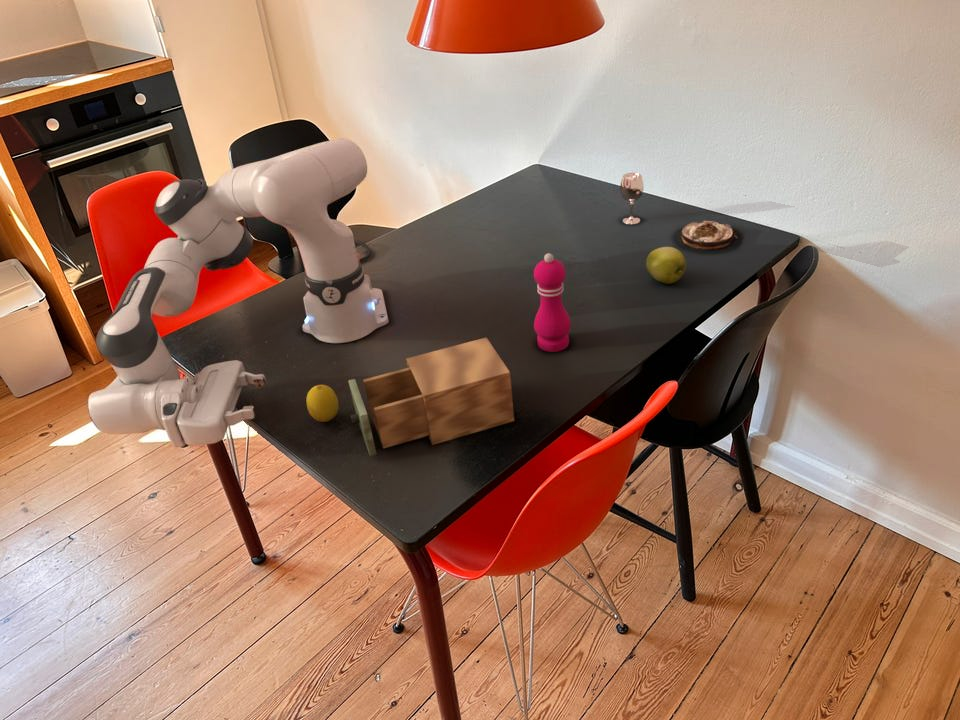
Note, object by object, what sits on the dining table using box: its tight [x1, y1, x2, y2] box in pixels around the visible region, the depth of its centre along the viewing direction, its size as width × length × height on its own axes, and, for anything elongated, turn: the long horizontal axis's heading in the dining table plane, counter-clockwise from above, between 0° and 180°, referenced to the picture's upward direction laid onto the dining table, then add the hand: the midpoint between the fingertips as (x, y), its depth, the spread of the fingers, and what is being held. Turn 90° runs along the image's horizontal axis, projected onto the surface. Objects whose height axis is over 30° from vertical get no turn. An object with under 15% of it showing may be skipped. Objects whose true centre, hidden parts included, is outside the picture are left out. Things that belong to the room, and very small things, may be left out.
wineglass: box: [619, 172, 645, 225], centre depth 194 cm, size 6×6×12 cm
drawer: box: [347, 367, 430, 457], centre depth 132 cm, size 15×11×9 cm
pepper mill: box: [533, 252, 572, 353], centre depth 148 cm, size 7×7×20 cm
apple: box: [645, 246, 687, 285], centre depth 167 cm, size 8×9×8 cm
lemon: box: [305, 384, 339, 423], centre depth 138 cm, size 6×6×8 cm
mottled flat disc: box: [680, 219, 738, 251], centre depth 184 cm, size 15×15×4 cm
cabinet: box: [405, 337, 515, 446], centre depth 135 cm, size 15×12×11 cm
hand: (259, 395), depth 136 cm, fingers open, 8 cm apart
